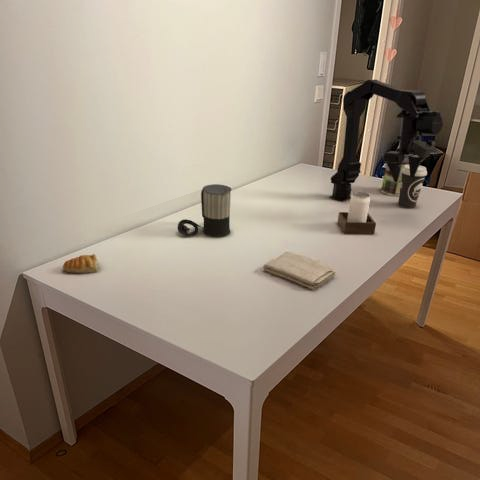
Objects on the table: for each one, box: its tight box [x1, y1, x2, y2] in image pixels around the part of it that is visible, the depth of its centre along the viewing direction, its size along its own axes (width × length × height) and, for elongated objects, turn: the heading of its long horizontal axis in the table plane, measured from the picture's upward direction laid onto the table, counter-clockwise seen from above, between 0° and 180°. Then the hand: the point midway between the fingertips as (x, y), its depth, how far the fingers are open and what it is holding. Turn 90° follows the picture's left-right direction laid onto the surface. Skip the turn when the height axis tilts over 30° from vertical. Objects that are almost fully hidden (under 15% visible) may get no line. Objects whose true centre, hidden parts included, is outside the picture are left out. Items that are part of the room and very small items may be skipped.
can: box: [347, 191, 371, 222], centre depth 162 cm, size 6×6×12 cm
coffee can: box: [380, 157, 409, 197], centre depth 198 cm, size 10×10×14 cm
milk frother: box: [177, 183, 232, 238], centre depth 153 cm, size 14×16×15 cm
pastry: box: [62, 253, 99, 274], centre depth 131 cm, size 9×7×4 cm
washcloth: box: [262, 251, 336, 291], centre depth 133 cm, size 12×18×3 cm, turn 51°
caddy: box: [337, 211, 377, 235], centre depth 164 cm, size 10×10×4 cm
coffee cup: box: [398, 164, 428, 209], centre depth 184 cm, size 10×10×15 cm
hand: (404, 179), depth 167 cm, fingers open, 9 cm apart
